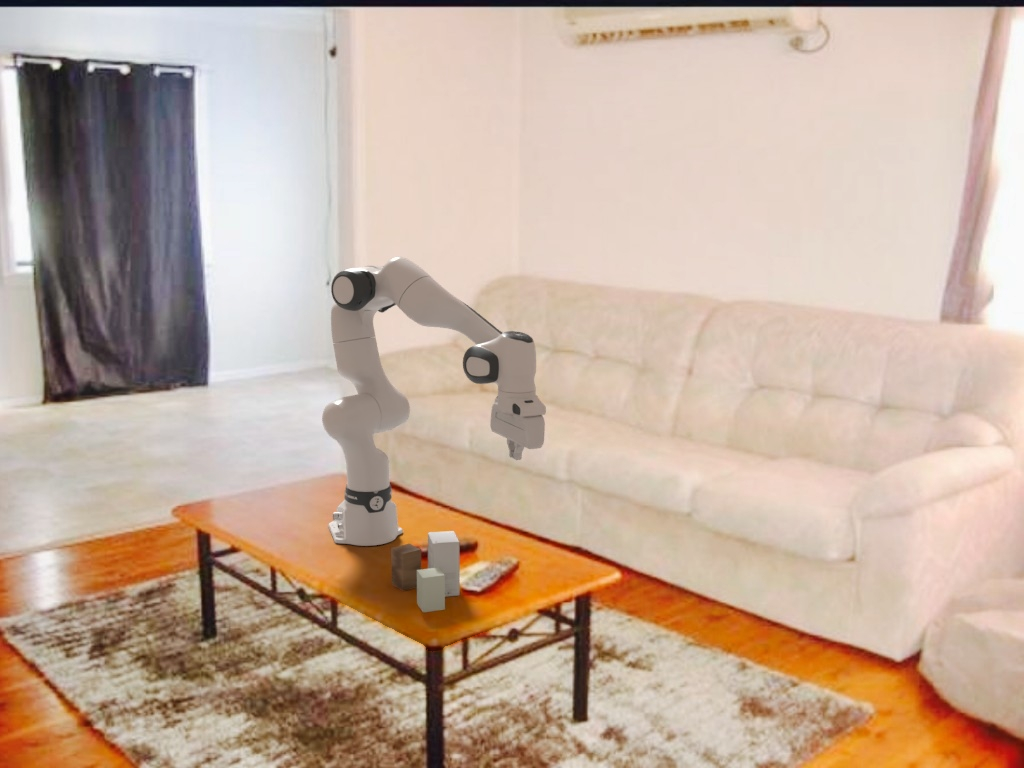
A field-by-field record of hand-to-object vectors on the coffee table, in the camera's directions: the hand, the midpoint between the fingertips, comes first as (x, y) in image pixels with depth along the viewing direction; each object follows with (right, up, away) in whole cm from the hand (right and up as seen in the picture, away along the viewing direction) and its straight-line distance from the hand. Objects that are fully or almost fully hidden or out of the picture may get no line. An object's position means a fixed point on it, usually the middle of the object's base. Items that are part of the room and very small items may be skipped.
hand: (515, 458), depth 244 cm
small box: (-17, -30, -5) cm, 35 cm away
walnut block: (-25, -29, -2) cm, 39 cm away
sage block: (-19, -32, -14) cm, 40 cm away
